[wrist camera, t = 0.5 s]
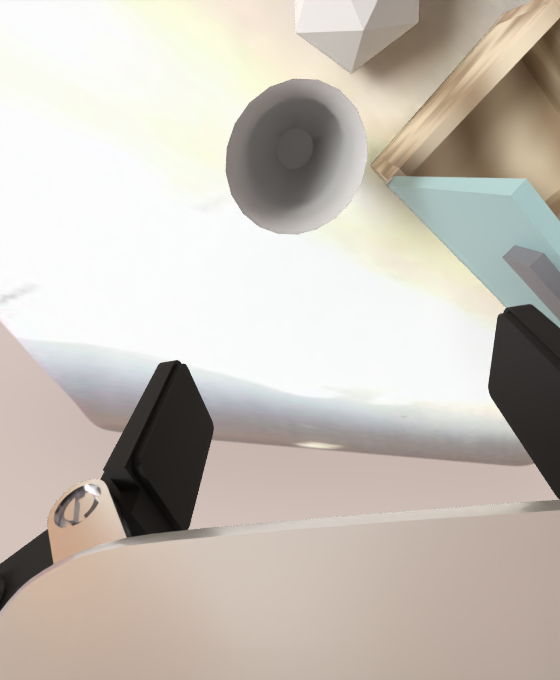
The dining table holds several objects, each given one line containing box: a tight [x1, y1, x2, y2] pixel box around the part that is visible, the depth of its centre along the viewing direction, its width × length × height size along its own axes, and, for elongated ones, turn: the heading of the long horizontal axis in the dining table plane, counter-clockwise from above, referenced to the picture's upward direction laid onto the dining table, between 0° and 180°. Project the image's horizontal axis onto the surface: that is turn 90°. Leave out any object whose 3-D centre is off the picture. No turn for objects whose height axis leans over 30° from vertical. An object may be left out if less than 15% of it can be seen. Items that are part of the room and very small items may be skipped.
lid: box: [386, 176, 560, 328], centre depth 23 cm, size 14×16×2 cm
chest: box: [370, 0, 560, 221], centre depth 30 cm, size 14×16×8 cm
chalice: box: [226, 79, 368, 234], centre depth 25 cm, size 7×7×18 cm
